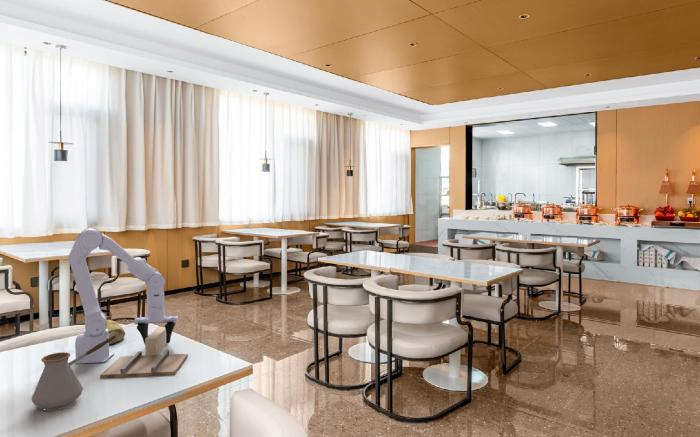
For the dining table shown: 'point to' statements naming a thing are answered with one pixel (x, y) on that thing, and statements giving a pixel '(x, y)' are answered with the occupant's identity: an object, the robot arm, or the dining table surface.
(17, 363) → the dining table surface
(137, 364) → the tan panel with rails
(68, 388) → the coffee pot
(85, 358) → the robot arm
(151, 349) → the beige rectangular block
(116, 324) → the pastry
